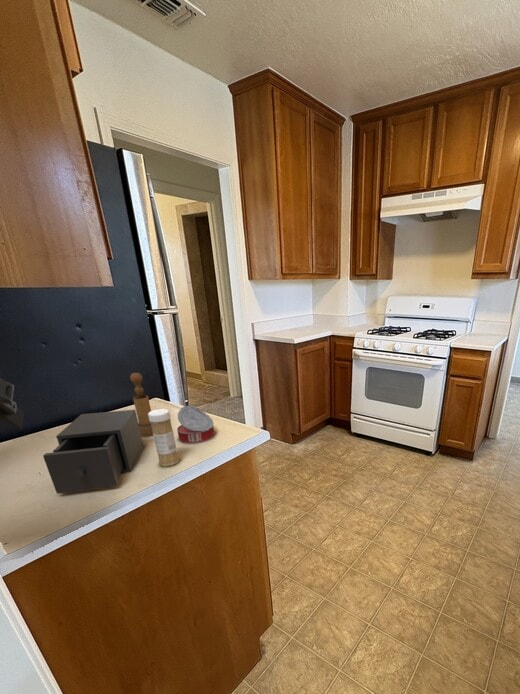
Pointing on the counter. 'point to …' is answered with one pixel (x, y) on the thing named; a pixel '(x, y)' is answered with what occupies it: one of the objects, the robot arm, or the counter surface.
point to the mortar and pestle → (141, 406)
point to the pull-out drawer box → (85, 463)
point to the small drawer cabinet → (109, 431)
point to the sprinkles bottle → (163, 437)
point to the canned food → (194, 425)
